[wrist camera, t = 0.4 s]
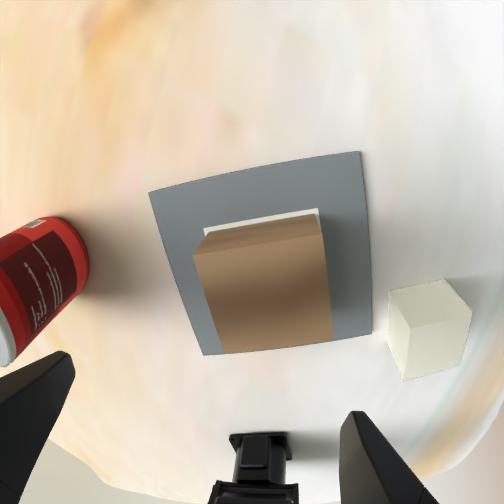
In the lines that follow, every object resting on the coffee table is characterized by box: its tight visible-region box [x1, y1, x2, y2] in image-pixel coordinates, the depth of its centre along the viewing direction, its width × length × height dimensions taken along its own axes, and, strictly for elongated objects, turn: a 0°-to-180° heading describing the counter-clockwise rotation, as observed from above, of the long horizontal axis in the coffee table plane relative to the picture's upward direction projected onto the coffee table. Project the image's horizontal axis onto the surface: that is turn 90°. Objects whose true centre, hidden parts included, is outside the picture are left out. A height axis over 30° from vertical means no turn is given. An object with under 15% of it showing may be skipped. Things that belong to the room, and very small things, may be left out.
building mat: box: [148, 151, 372, 356], centre depth 21 cm, size 14×14×1 cm
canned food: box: [0, 217, 89, 367], centre depth 18 cm, size 8×8×11 cm
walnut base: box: [193, 214, 333, 353], centre depth 19 cm, size 7×7×4 cm
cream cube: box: [387, 279, 473, 381], centre depth 19 cm, size 5×5×5 cm
